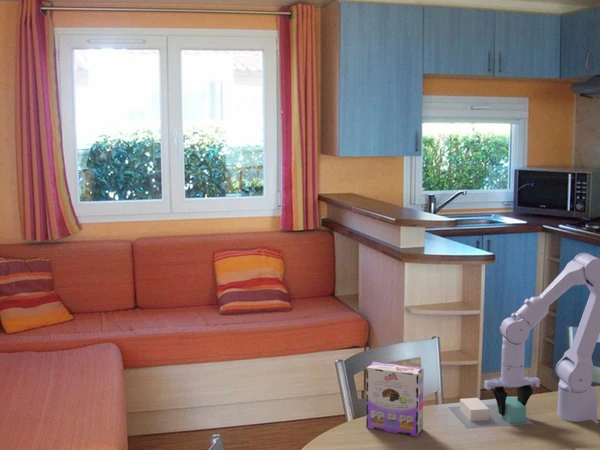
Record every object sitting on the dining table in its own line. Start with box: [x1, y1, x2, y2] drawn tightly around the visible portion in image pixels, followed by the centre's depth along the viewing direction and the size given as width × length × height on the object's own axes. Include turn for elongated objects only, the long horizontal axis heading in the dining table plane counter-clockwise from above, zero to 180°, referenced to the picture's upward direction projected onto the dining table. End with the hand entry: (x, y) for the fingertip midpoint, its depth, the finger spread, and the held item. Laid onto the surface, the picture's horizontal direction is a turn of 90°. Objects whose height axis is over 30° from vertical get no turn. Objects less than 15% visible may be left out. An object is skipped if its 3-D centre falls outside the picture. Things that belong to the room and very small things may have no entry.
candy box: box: [365, 361, 424, 437], centre depth 189 cm, size 14×6×16 cm, turn 65°
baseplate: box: [447, 397, 534, 429], centre depth 196 cm, size 18×14×4 cm
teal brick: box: [496, 396, 527, 424], centre depth 194 cm, size 4×8×4 cm, turn 8°
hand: (511, 413), depth 195 cm, fingers closed on teal brick, 4 cm apart
